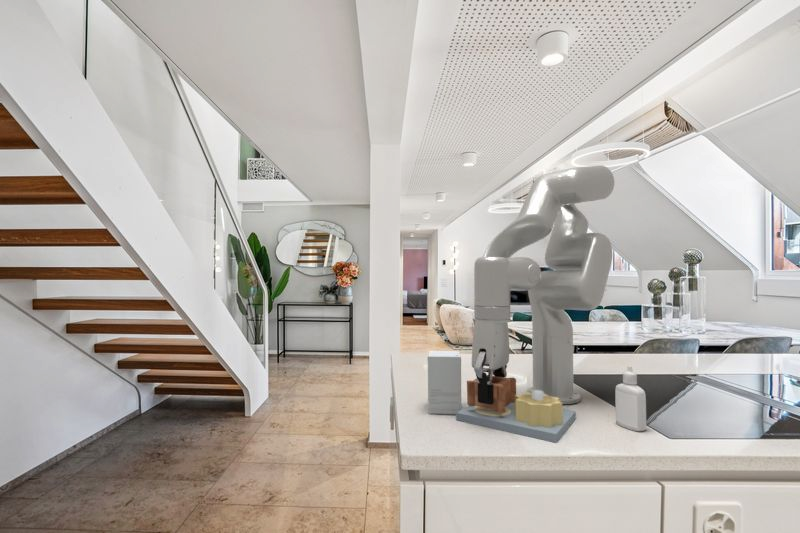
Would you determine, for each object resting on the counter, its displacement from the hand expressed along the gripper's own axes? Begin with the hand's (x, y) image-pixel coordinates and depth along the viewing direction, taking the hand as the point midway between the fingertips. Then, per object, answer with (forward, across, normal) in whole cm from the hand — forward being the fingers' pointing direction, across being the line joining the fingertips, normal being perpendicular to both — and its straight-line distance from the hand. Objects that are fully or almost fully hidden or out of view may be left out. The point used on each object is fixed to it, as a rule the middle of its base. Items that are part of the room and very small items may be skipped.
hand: (492, 398), depth 85 cm
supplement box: (+4, +1, -11) cm, 12 cm away
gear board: (+4, -2, +4) cm, 6 cm away
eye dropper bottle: (+4, -11, +24) cm, 27 cm away
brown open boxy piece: (+1, 0, 0) cm, 1 cm away
